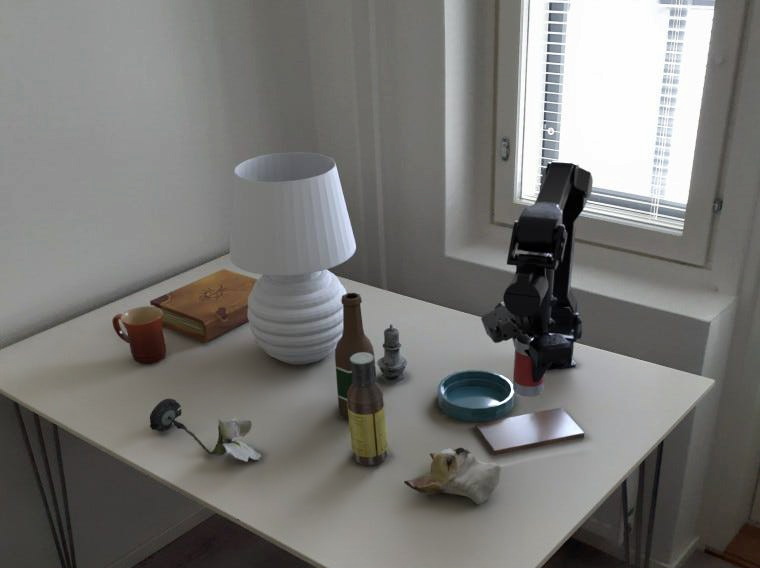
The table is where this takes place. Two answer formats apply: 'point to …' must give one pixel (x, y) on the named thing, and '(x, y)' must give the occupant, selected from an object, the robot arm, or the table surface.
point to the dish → (475, 395)
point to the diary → (207, 305)
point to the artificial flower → (227, 431)
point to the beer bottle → (349, 347)
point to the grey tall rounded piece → (392, 357)
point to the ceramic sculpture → (459, 476)
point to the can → (524, 370)
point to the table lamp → (292, 251)
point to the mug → (143, 333)
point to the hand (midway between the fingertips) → (529, 373)
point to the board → (528, 431)
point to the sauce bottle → (366, 412)
